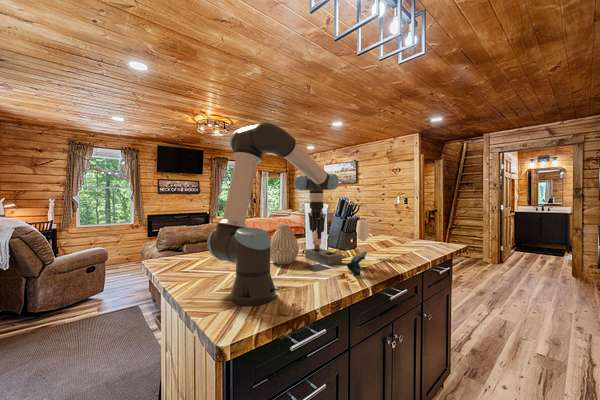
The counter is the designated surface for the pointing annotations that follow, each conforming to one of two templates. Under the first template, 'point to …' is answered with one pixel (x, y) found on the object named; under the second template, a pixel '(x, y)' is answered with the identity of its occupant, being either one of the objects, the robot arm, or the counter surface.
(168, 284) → the counter surface
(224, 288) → the counter surface
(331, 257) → the hole block
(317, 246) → the peg
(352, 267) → the fish
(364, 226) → the cup
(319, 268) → the mat
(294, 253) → the vase
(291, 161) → the robot arm
